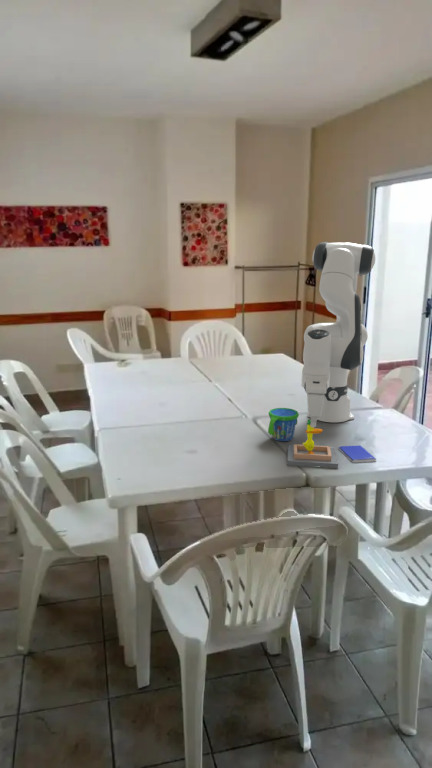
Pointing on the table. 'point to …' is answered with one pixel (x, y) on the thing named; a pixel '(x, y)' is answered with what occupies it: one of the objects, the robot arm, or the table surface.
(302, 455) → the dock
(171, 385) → the table surface
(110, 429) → the table surface
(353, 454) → the hard drive
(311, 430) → the toy figure
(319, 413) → the robot arm
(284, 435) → the snack cup
